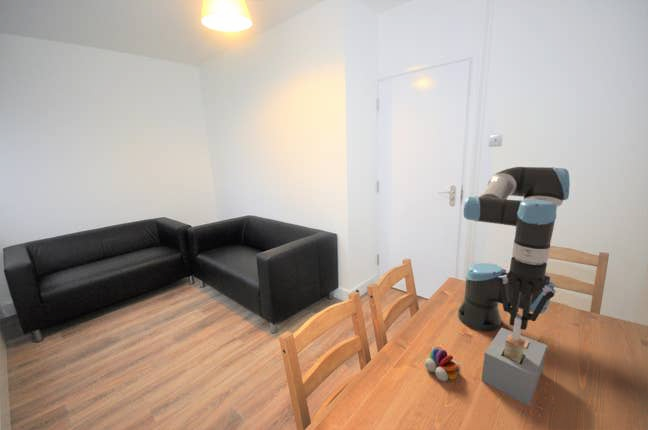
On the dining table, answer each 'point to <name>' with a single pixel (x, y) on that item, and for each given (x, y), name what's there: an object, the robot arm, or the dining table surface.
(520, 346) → the peg
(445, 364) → the rainbow disc toy
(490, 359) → the socket block
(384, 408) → the dining table surface
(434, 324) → the dining table surface
